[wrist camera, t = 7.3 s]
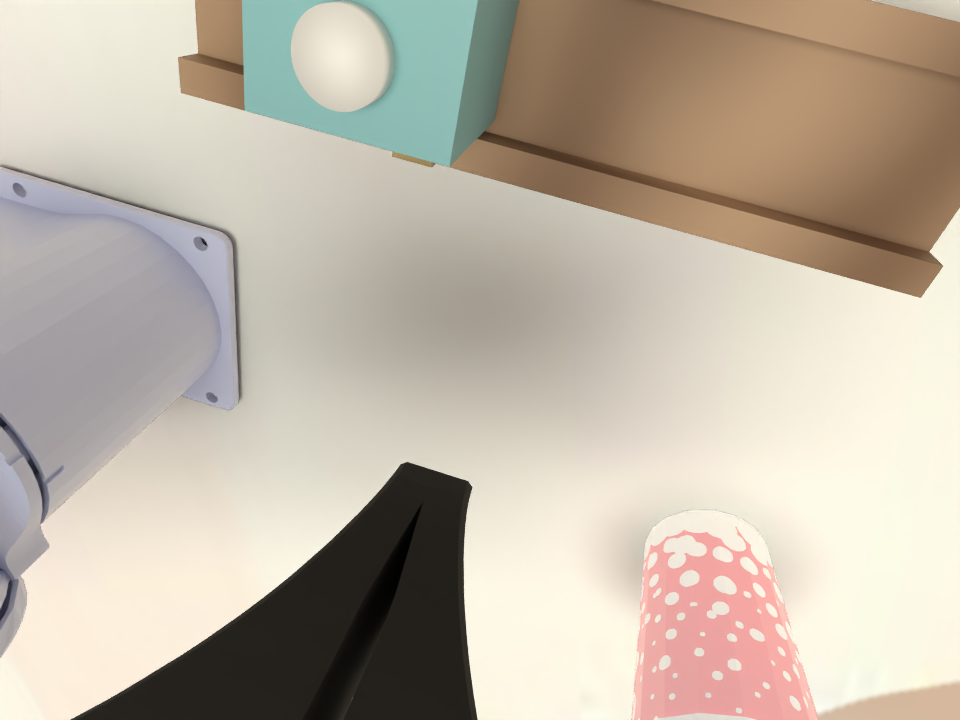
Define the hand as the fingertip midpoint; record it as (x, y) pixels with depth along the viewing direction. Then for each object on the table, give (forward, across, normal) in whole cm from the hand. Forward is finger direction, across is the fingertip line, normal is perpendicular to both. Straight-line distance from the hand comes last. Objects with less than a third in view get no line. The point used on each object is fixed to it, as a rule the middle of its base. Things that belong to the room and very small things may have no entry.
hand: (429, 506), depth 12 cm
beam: (+10, 0, -7) cm, 12 cm away
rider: (+7, +3, -7) cm, 10 cm away
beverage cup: (+10, -10, +9) cm, 17 cm away
